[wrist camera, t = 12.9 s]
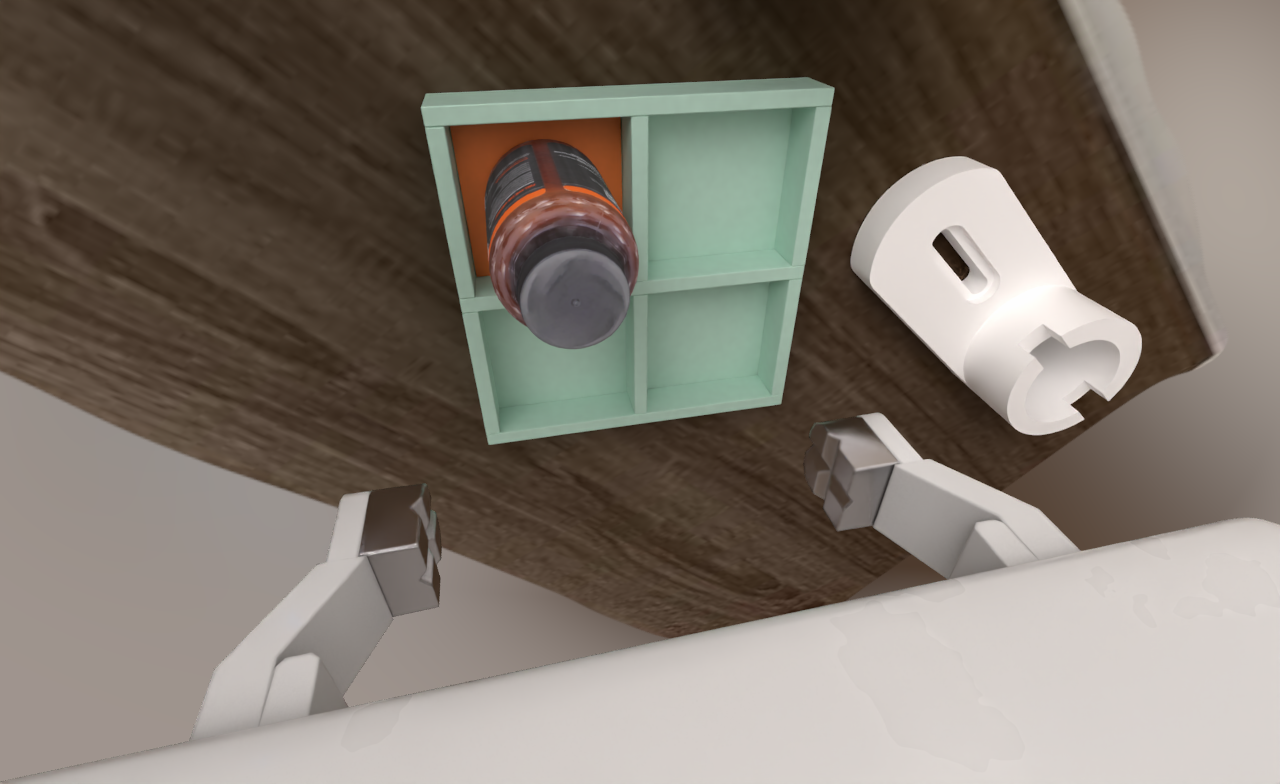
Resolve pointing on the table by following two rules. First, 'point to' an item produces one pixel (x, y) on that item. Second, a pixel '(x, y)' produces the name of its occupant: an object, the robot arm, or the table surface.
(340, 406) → the table surface
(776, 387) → the organiser
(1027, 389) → the bracket
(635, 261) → the supplement bottle
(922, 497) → the robot arm
